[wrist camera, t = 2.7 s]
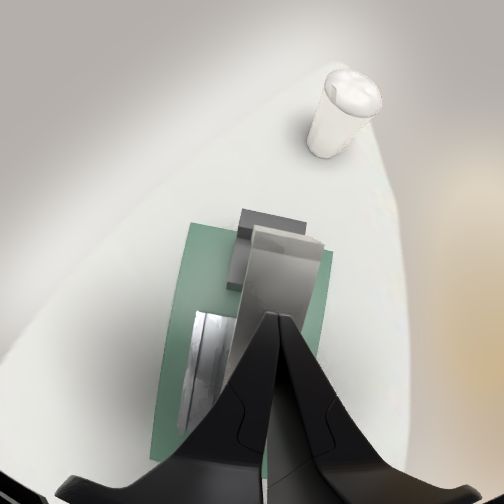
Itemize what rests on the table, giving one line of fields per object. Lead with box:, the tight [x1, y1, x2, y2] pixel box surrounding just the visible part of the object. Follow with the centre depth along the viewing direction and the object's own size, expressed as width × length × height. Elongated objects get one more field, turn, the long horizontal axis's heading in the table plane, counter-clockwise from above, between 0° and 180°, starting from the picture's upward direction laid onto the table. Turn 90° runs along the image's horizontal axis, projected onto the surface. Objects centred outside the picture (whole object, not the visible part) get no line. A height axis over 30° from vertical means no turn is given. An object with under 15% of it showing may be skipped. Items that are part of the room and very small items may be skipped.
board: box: [150, 223, 333, 479], centre depth 22 cm, size 20×12×1 cm, turn 169°
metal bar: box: [221, 225, 325, 392], centre depth 12 cm, size 17×2×2 cm, turn 170°
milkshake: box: [306, 69, 382, 159], centre depth 22 cm, size 5×5×10 cm
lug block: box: [226, 209, 307, 292], centre depth 19 cm, size 4×4×7 cm
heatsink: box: [177, 311, 267, 449], centre depth 20 cm, size 9×7×3 cm
